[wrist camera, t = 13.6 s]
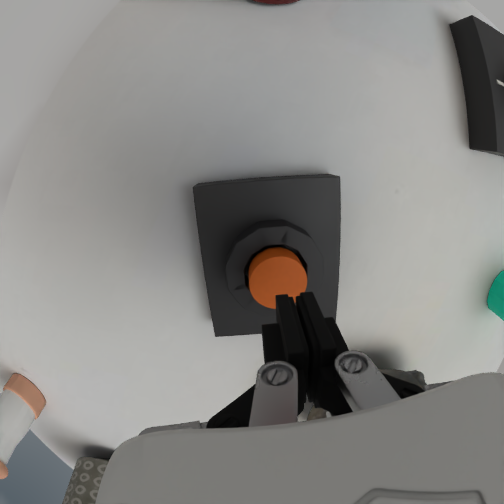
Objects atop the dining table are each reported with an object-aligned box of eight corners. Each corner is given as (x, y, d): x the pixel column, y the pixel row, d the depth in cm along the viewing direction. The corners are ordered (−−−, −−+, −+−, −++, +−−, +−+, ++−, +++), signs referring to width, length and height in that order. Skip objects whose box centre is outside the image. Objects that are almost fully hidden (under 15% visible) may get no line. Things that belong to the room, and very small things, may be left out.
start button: (246, 249, 18) (246, 259, 16) (301, 244, 18) (307, 253, 16) (250, 298, 19) (251, 311, 18) (301, 293, 19) (307, 306, 18)
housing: (197, 183, 20) (187, 190, 16) (330, 173, 20) (349, 178, 16) (217, 322, 24) (213, 350, 20) (328, 311, 24) (341, 337, 20)
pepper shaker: (43, 410, 30) (3, 490, 12) (11, 384, 28) (-35, 458, 10) (48, 396, 29) (1, 487, 11) (13, 366, 27) (-43, 449, 9)
